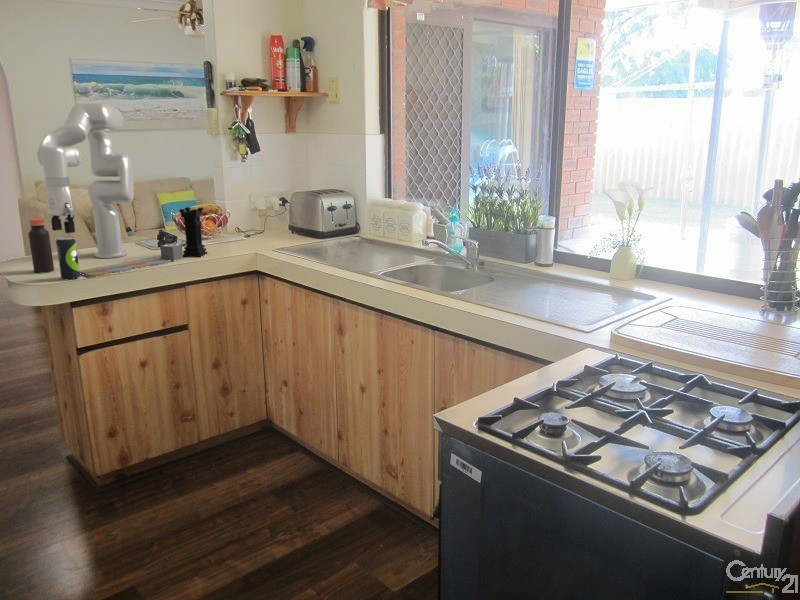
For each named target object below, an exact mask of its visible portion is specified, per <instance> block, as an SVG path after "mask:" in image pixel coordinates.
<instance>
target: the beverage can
mask: <svg viewBox="0 0 800 600" xmlns="http://www.w3.org/2000/svg"><path fill="white" fill-rule="evenodd" d="M55 243H56V251H57V257H58V265H59V272H60V278H61V279H63V280H64V279H73V278H77V277H79V278H80V276H81V275H80V271H81V270H80V266H79V265H80V264H79V258H78V251H77V243H76V239H75V236H70V235H69V236H60V237H56V240H55ZM77 279H78V278H77ZM73 280H74V279H73Z"/></svg>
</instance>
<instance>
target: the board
mask: <svg viewBox="0 0 800 600" xmlns="http://www.w3.org/2000/svg"><path fill="white" fill-rule="evenodd" d="M168 262H170V261H168V260H163V259H162V258H159V257H150V258H144V259H139V260H132V261H126V262H122V263H121V262H120V263H116V264H112V265H111V264H110V265H105V266H99V267H98V266H97V267H94V268H88V269H82V270H79V271H80V273H81V274H84V275H87V276H90V277H92V278H97V277H96V276H98V277H101V276H100V275H103V276H105V275H104V274H108V275H111V274H110V273H114V274H116V273H115V272H119V273H121V272H120V271H124V272H128V271H127V270H129V271H132V270H131V269H135V268H140V269H142V268H141V267H145V268H147V267H146V266H151V267H154V266H153V265H156V266H160V265H159V264H161V265H165V264H164V263H167V264H169V263H168ZM135 270H136V269H135ZM84 275H83V276H84ZM87 276H86V277H87ZM90 277H89V278H90Z"/></svg>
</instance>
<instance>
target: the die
mask: <svg viewBox="0 0 800 600" xmlns="http://www.w3.org/2000/svg"><path fill="white" fill-rule="evenodd" d="M183 254H184V253H183V244H181V243H166V244H162V245H160V256H161V258H160V259H163V260H173V261H172V262H175V261H174V260H177V259H180V260H182V259H181V258H183V259H184V257H183ZM177 261H178V260H177Z"/></svg>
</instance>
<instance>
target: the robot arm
mask: <svg viewBox="0 0 800 600" xmlns="http://www.w3.org/2000/svg"><path fill="white" fill-rule="evenodd" d="M123 126H124V116H123V114H122V112H121V111H120V110H119V109H118V108H116V107H113V106H111V105H109V104H105V103H96V102H95V103H90V102H89V103H88V102H87V103H85V102H83V103H76V104H74V105H73V106H72V107H71V109H70V112H69V114H68V116H67V117H66V120H65V122H64V124H63V125H62V126H60V127H58V128H56V129H53V131H51V132H49V133H47V135H45V136H44V137H43V139H41V141H40V144H39V146H38V149H37V152H36V157H37V158H36V159H37V161H38V162H39V164H40V165H41V166H42V167H43V176H44V184H45V188H46V190H45V192H46V193H45V195H46V197H45V199H46V208H47V209H46V210H47V211H46V212H47V214H48V215H50V216H49V219H50V222H51V230H52V231H54V232H55V231H61V230H63V226H62V225H63V224H64V232H65V234H72V233H75V232H76V228H75V209H74V207H73V201H72V196H71V192H70V187H71V186H70V177H69V170H68V168H75V167H78V166H80V165H81V164H82V161H83V154H82V152H81V150H80V149H79V148H78V147H76V146H74V145H78V144H80V143H82V142H84V141H85V140H88V142H89V152H90V153H89V156H90V169H91V173H92V174H93V175H94V176H96V177H100V178H119V180H118V179H117V180H114V179H107V180H105V179H103V180H102V179H101V180H100V179H99V180H94V181H91V182H90V183H89V185H88V187H87V193H88V197H89V200H90V203H91V208H92V210H93V211H92V213H93V220H94V221H93V222H94V229H95V235H96V243H97V245H96V247H95V248H96V249H97V250H98V251H97V252H95V253H94V257H95V258H98V259H114V258H122V257H124V256H126V255H128V251H127V250H123V249H124V248H123V242H122V234H121V233H122V232H121V226H120V225H121V224H120V216H119V212H118V211H117V209H116V207H115V206H114V205H115V204H129V203H132V202H133V201H134V198H135V187H134V185H135V184H134V167H133V161H132V160H131V157H130V156H129V155H127V153H126V154H125V153H114V151H113V150H114V149H113V141H112V139H111V137H110V136H109V135H108V134H107V133H106V132H105V131H119V130H121V129H122V128H123ZM113 204H114V205H113ZM61 216H62V218H63V220H64V221H63V223H62V219H61V218H60V217H61Z"/></svg>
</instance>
